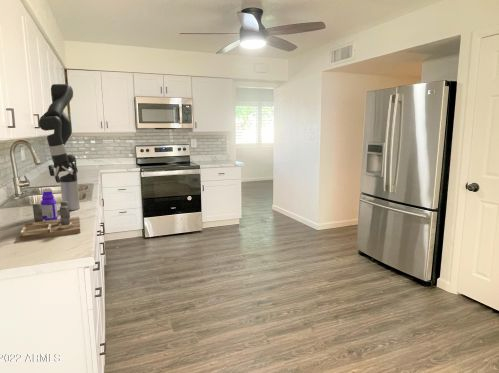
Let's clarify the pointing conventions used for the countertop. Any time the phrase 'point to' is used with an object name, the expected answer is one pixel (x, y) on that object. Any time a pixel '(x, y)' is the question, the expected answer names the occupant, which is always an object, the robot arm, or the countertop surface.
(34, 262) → the countertop surface
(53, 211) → the bottle
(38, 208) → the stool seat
